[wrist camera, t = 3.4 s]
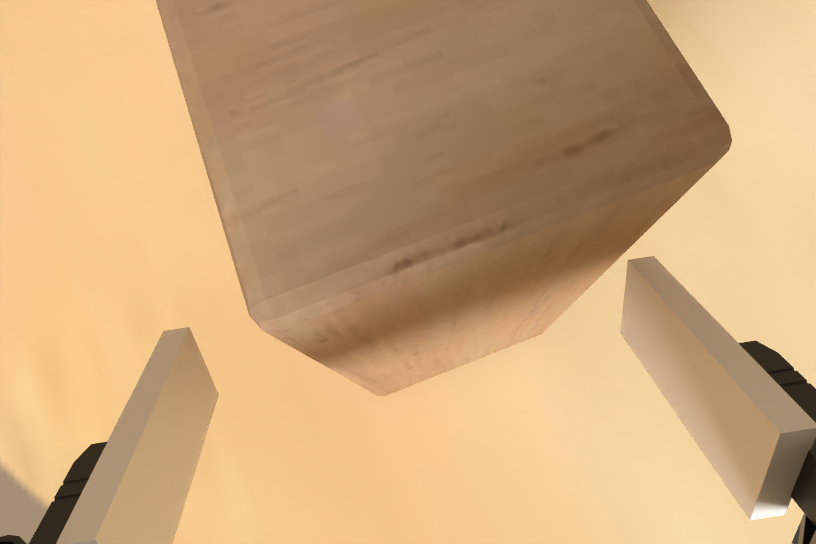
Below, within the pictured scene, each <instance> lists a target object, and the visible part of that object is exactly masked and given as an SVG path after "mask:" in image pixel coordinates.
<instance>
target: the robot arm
mask: <svg viewBox="0 0 816 544" xmlns="http://www.w3.org/2000/svg"><path fill="white" fill-rule="evenodd" d="M620 333H621V334H622V336H623V337H624V339H625V340H626V342H627V343H628V345H629V346H630V347H631V349H632V350H633V352H634V353H635V355H636V356H637V358H638V359H639V360H640V362H641V363H642V365H643V366H644V368H645V369H646V371H647V372H648V373H649V375H650V376H651V378H652V379H653V381H654V382H655V384H656V385H657V387H658V388H659V389H660V391H661V392H662V394H663V395H664V397H665V398H666V400H667V401H668V402H669V404H670V405H671V407H672V408H673V410H674V411H675V413H676V414H677V415H678V417H679V418H680V420H681V421H682V423H683V424H684V426H685V427H686V428H687V430H688V431H689V433H690V434H691V436H692V437H693V439H694V440H695V442H696V443H697V444H698V446H699V447H700V449H701V450H702V452H703V453H704V455H705V456H706V457H707V459H708V460H709V462H710V463H711V465H712V466H713V468H714V469H715V470H716V472H717V473H718V475H719V476H720V478H721V479H722V481H723V482H724V483H725V485H726V486H727V488H728V489H729V491H730V492H731V494H732V495H733V496H734V498H735V499H736V501H737V502H738V504H739V505H740V507H741V508H742V510H743V511H744V512H745V514H746V515H747V517H748V518H749V520H755V519H761V518H768V517H774V516H781V515H785V513H786V510H787V508H788V505H789V503H790V500H791V498H793V499H794V501H795V502H796V503H797V504H798V506H799V507H800V508H801V509H802V511H803V512H804V516H803V518H802V520H801V523H800V525H799V527H798V529H797V532H796V534H795V536H794V539H793V541H792V543H793V544H816V389H815V388H814V387H813V386H812V385H811V384H810V383H809V384H808V383H807V380H806V379H805V378H804V377H803V376H802V375H801V374H800V373H799V372H798V371H794V368H793V367H792V366H791V365H790V364H789V363H788V362H787V361H786V360H785V359H784V358H783V357H782V356H781V355H780V354H779V353H777V352H776V351H774V350H772V349H770V348H768V347H766V346H765V345H763V344H761V343H759V342H757V341H750V342H744V343H738V342H737V341H736V340H735V339H734V338H733V337H732V336H731V335H730V334H729V333H728V332H727V331H726V330H725V329H724V328H723V327H722V326H721V325H720V324H719V323H718V322H717V321H716V320H715V319H714V318H713V317H712V316H711V315H710V314H709V313H708V312H707V311H706V310H705V309H704V308H703V306H702V305H701V304H700V303H699V302H698V301H697V300H696V299H695V298H694V297H693V296H692V295H691V294H690V293H689V292H688V291H687V290H686V289H685V288H684V287H683V286H682V285H681V284H680V283H679V282H678V281H677V280H676V279H675V278H674V277H673V276H672V275H671V274H670V273H669V272H668V271H667V269H666V268H665V267H664V266H663V265H662V264H661V263H660V262H659V261H658V260H657V259H656V258H655V257H654V256H652V257H645V258H638V259H632V260H628V266H627V275H626V285H625V294H624V304H623V313H622V323H621V332H620ZM217 398H218V392H217V390H216V388H215V386H214V383H213V381H212V379H211V376H210V374H209V372H208V369H207V367H206V365H205V362H204V360H203V358H202V356H201V353H200V351H199V349H198V346H197V344H196V342H195V339H194V337H193V335H192V332H191V330H190V328H189V327H188V328H181V329H175V330H168V331H163V333H162V335H161V337H160V339H159V341H158V343H157V345H156V347H155V349H154V351H153V353H152V355H151V357H150V359H149V361H148V363H147V365H146V367H145V369H144V371H143V373H142V375H141V377H140V379H139V381H138V383H137V385H136V387H135V389H134V391H133V393H132V395H131V397H130V399H129V401H128V403H127V405H126V406H125V408H124V410H123V412H122V414H121V416H120V418H119V420H118V422H117V424H116V426H115V428H114V430H113V432H112V434H111V436H110V438H109V440H108V442H103V443H96V444H91V445H90V446H89V447H88V448H87V449H86V450H85V451H84V452H83V453H82V454H81V456H80V457H79V458H78V459H77V460H76V461H75V462H74V463H73V465H72V467H71V468H70V470H69V472H68V474H67V476H66V478H65V479H64V481H63V485H62V486H61V487H60V488H59V490H58V492H57V494H56V496H55V497H54V498H55V501H54V502H52V503H51V505H50V507H49V508H48V510H47V512H46V514H45V516H44V518H43V519H42V521H41V523H40V525H39V526H38V528H37V530H36V532H35V534H34V535H33V537H32V539H31V541H30V543H29V544H172V543H173V540H174V536H175V533H176V530H177V527H178V523H179V520H180V517H181V514H182V511H183V507H184V504H185V501H186V498H187V494H188V491H189V488H190V485H191V482H192V478H193V475H194V472H195V469H196V465H197V462H198V459H199V456H200V453H201V449H202V446H203V443H204V440H205V436H206V433H207V430H208V427H209V424H210V420H211V417H212V414H213V411H214V407H215V404H216V401H217ZM0 544H26V543H25V542H24V541H23V540H22V539H21V538H20V537H19V536H12V535H7V536H3V537H0Z"/></svg>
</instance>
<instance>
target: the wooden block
mask: <svg viewBox="0 0 816 544" xmlns="http://www.w3.org/2000/svg"><path fill="white" fill-rule="evenodd" d="M156 3H157V6H158V10H159V13H160V16H161V20H162V23H163V27H164V30H165V33H166V37H167V40H168V43H169V47H170V50H171V53H172V57H173V60H174V64H175V67H176V70H177V74H178V77H179V80H180V84H181V87H182V90H183V94H184V97H185V101H186V104H187V107H188V111H189V114H190V117H191V121H192V124H193V127H194V131H195V134H196V138H197V141H198V144H199V148H200V151H201V154H202V158H203V161H204V164H205V168H206V171H207V175H208V178H209V181H210V185H211V188H212V191H213V195H214V198H215V202H216V205H217V208H218V212H219V215H220V218H221V222H222V225H223V228H224V232H225V235H226V239H227V242H228V245H229V249H230V252H231V255H232V259H233V262H234V265H235V269H236V272H237V276H238V279H239V282H240V286H241V289H242V292H243V296H244V299H245V302H246V306H247V309H248V313H249V316H250V317H251V318H252V319H253V320H254V321H255V323H256V324H257V325H258V326H259V327H260V328H261V329H262V330H263V331H265V332H266V333H268V334H270V335H272V336H273V337H275V338H277V339H279V340H281V341H282V342H284V343H286V344H288V345H289V346H291V347H293V348H295V349H296V350H298V351H300V352H302V353H303V354H305V355H307V356H309V357H310V358H312V359H314V360H316V361H317V362H319V363H321V364H323V365H324V366H326V367H328V368H330V369H331V370H333V371H335V372H337V373H338V374H340V375H342V376H344V377H345V378H347V379H349V380H351V381H353V382H354V383H356V384H358V385H360V386H361V387H363V388H365V389H367V390H368V391H370V392H372V393H374V394H375V395H377V396H386V395H388V394H391V393H393V392H396V391H398V390H401V389H403V388H406V387H408V386H411V385H413V384H416V383H418V382H421V381H424V380H426V379H429V378H431V377H434V376H436V375H439V374H441V373H444V372H446V371H449V370H451V369H454V368H456V367H459V366H461V365H464V364H466V363H469V362H471V361H474V360H476V359H479V358H482V357H484V356H487V355H489V354H492V353H494V352H497V351H499V350H502V349H504V348H507V347H509V346H512V345H514V344H517V343H519V342H522V341H524V340H527V339H529V338H532V337H535V336H537V335H540V334H542V333H543V332H544V331H545V330H546V329H547V328H548V327H549V326H550V325H551V324H552V323H553V322H554V321H555V320H556V319H557V318H558V317H559V316H560V315H561V314H562V313H563V312H564V311H565V310H566V309H567V308H568V307H569V306H570V305H571V304H572V303H573V302H574V301H575V300H576V299H577V298H578V297H579V296H580V295H582V294H583V293H584V292H585V291H586V290H587V289H588V288H589V287H590V286H591V285H592V284H593V283H594V282H595V281H596V280H597V279H598V278H599V277H600V276H601V275H602V274H603V273H604V272H605V271H606V270H607V269H608V268H609V267H610V266H611V265H612V264H613V263H614V262H615V261H616V260H617V259H618V258H619V257H620V256H621V255H622V254H624V253H625V252H626V251H627V250H628V249H629V248H630V247H631V246H632V245H633V244H634V243H635V242H636V241H637V240H638V239H639V238H640V237H641V236H642V235H643V234H644V233H645V232H646V231H647V230H648V229H649V228H650V227H651V226H652V225H653V224H654V223H655V222H656V221H657V220H658V219H659V218H660V217H661V216H662V215H663V214H664V213H666V212H667V211H668V210H669V209H670V208H671V207H672V206H673V205H674V204H675V203H676V202H677V201H678V200H679V199H680V198H681V197H682V196H683V195H684V194H685V193H686V192H687V191H688V190H689V189H690V188H691V187H692V186H693V185H694V184H695V183H696V182H697V181H698V180H699V179H700V178H701V177H702V176H703V175H704V174H705V173H706V172H708V171H709V170H710V169H711V168H712V167H713V166H714V165H715V164H716V163H717V162H718V161H719V160H720V159H721V158H722V157H723V156H724V155H725V154H726V153H727V152H728V151H729V149H730V145H731V142H732V139H731V134H730V129H729V125H728V124H727V122H726V121H725V119H724V118H723V116H722V115H721V113H720V112H719V110H718V109H717V107H716V106H715V104H714V103H713V101H712V99H711V98H710V96H709V95H708V93H707V92H706V90H705V89H704V87H703V86H702V84H701V83H700V81H699V80H698V78H697V77H696V75H695V74H694V72H693V71H692V69H691V68H690V66H689V65H688V63H687V61H686V60H685V58H684V57H683V55H682V54H681V52H680V51H679V49H678V48H677V46H676V45H675V43H674V42H673V40H672V39H671V37H670V36H669V34H668V33H667V31H666V30H665V28H664V26H663V25H662V23H661V22H660V20H659V19H658V17H657V16H656V14H655V13H654V11H653V10H652V8H651V7H650V5H649V4H648V2H647V1H646V0H156Z"/></svg>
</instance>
